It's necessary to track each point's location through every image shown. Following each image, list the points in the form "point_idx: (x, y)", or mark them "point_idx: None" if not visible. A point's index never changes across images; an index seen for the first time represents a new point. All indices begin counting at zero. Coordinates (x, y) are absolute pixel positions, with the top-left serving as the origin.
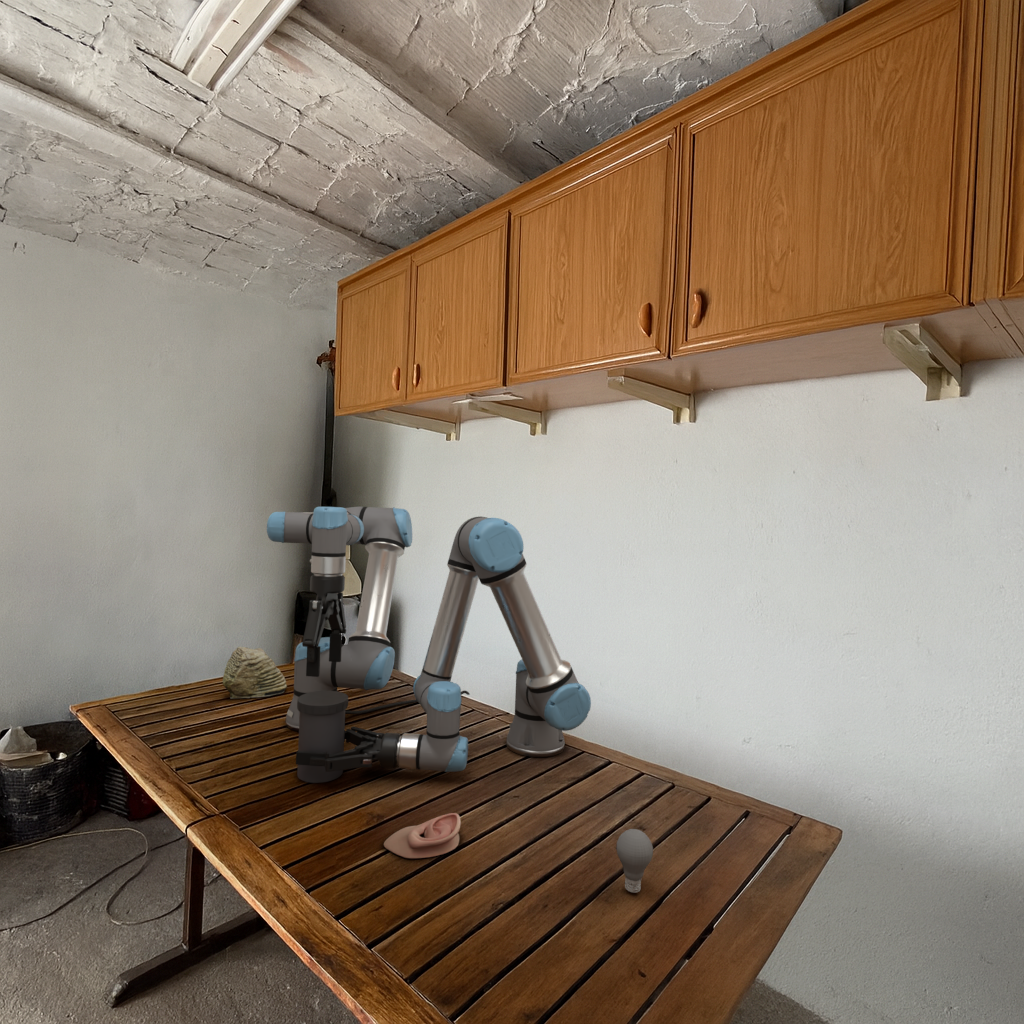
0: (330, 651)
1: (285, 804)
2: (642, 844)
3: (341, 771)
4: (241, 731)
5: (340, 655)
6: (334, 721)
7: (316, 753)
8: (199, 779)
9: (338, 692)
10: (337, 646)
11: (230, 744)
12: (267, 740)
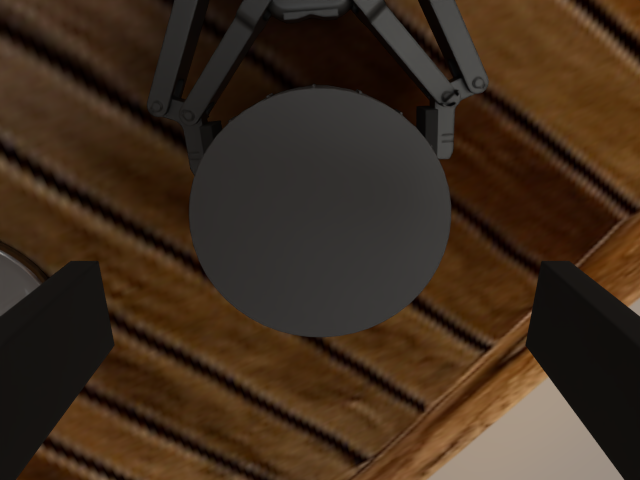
0: (69, 391)
1: (512, 165)
2: None
3: (320, 85)
4: (123, 447)
5: (58, 286)
6: None
7: (436, 144)
8: (402, 401)
9: (207, 182)
10: (19, 367)
11: (206, 432)
12: (154, 370)
